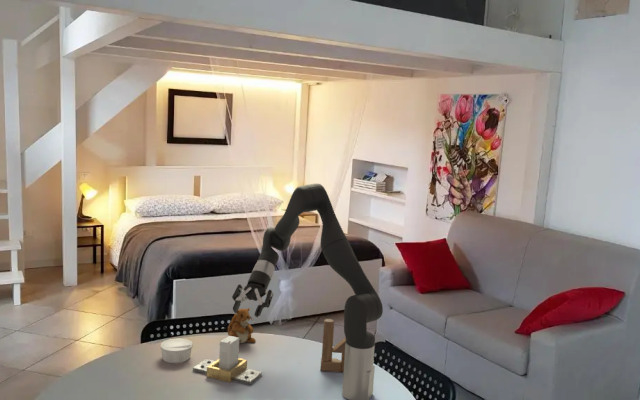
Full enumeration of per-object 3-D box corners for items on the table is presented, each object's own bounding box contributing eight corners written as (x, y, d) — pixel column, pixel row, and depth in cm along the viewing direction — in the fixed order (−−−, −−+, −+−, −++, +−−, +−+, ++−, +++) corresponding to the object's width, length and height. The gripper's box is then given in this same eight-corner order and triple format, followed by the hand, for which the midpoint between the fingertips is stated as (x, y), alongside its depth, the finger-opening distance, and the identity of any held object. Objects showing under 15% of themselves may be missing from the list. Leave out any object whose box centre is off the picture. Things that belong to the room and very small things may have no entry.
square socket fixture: (263, 373, 185) (264, 363, 185) (248, 387, 175) (248, 376, 175) (208, 360, 193) (208, 351, 193) (190, 372, 183) (190, 362, 182)
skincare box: (227, 368, 188) (228, 334, 186) (238, 371, 186) (240, 337, 185) (217, 375, 182) (218, 340, 181) (229, 378, 181) (230, 343, 179)
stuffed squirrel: (233, 348, 205) (235, 314, 204) (220, 335, 217) (221, 303, 216) (257, 344, 210) (259, 311, 209) (243, 331, 222) (244, 300, 221)
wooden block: (351, 373, 190) (354, 323, 187) (320, 371, 190) (323, 321, 187) (350, 368, 193) (354, 320, 191) (320, 367, 193) (323, 318, 191)
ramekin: (175, 367, 186) (176, 353, 185) (153, 359, 192) (153, 344, 191) (199, 357, 196) (199, 343, 195) (176, 349, 201) (177, 335, 201)
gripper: (241, 267, 201) (224, 305, 192) (276, 272, 196) (260, 312, 187) (247, 277, 207) (231, 315, 198) (281, 283, 202) (266, 322, 193)
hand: (245, 313), depth 192 cm, fingers open, 8 cm apart
